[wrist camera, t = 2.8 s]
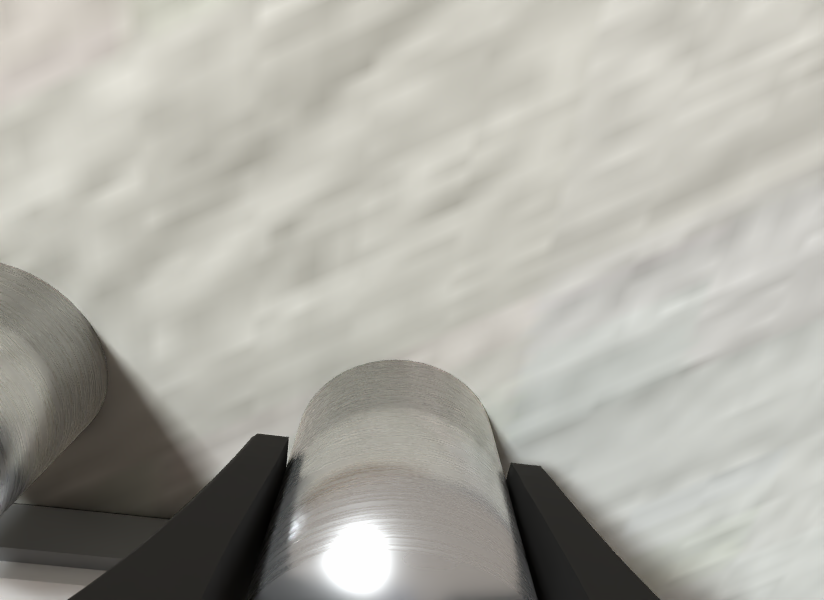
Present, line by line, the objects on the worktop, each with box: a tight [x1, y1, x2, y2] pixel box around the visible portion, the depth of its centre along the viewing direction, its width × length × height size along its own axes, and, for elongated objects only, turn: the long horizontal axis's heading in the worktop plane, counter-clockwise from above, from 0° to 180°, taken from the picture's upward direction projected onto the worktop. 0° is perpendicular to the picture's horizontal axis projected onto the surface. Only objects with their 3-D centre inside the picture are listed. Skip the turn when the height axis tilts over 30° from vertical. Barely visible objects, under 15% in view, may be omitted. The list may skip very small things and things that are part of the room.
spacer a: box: [245, 360, 537, 600], centre depth 10 cm, size 4×4×5 cm
